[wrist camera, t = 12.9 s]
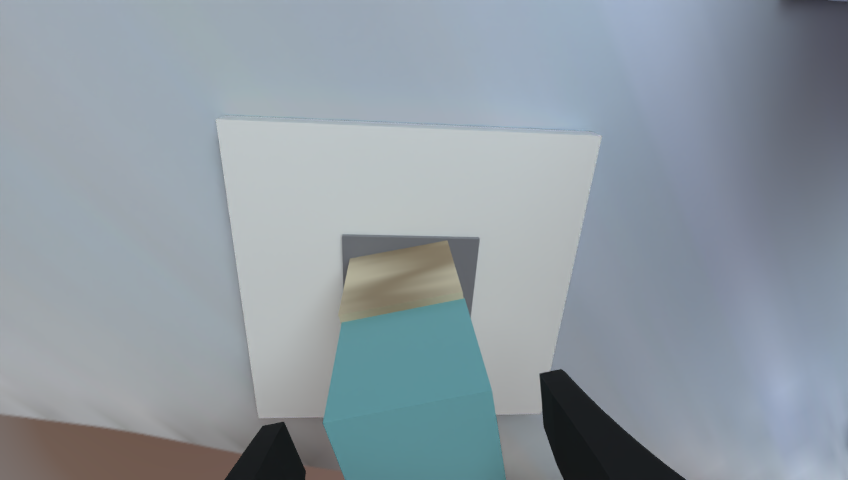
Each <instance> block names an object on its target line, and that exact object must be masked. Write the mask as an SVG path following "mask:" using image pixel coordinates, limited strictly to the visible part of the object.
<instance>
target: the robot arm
mask: <svg viewBox="0 0 848 480" xmlns="http://www.w3.org/2000/svg"><path fill="white" fill-rule="evenodd" d="M830 1H843V2H848V0H830ZM539 376H540V388H541V399H542V411H543V423H544V429H545V432H546V435H547V438H548V440H549V443H550V446H551V449H552V452H553V455H554V458H555V461H556V463H557V466H558V468H559V470H560V472H561V475H562V477H563V479H564V480H686V479H685V478H683V477H682V476H680V475H679V474H678V473H676V472H675V471H674V470H672V469H671V468H670V467H668V466H667V465H666V464H665V463H663V462H662V461H661V460H660V459H658V458H657V457H656V456H655V455H653V454H652V453H651V452H650V451H648V450H647V449H646V448H645V447H644V446H642V445H641V444H640V443H639V442H638V441H636V440H635V439H634V438H633V437H632V436H631V435H629V434H628V433H627V432H626V431H625V430H624V429H623V428H622V427H620V426H619V425H618V424H617V423H616V422H615V421H614V420H613V419H612V418H611V417H609V416H608V415H607V414H606V413H605V412H604V411H603V410H602V409H601V408H600V407H599V406H598V405H597V404H596V403H595V402H594V401H593V400H592V399H591V398H590V397H589V396H588V395H587V394H586V393H585V392H584V391H583V390H582V389H581V388H580V387H579V386H578V385H577V384H576V383H575V382H574V381H573V380H572V379H571V378H570V377H569V376H568V375H567V373H566V372H564V371H563V370H561V369H560V370H555V371H550V372H544V373H539ZM305 474H306V471H305V469H304V466H303V464H302V462H301V459H300V457H299V455H298V453H297V450H296V448H295V446H294V443H293V441H292V439H291V437H290V434H289V432H288V430H287V427H286V425H285V423H284V422H281V423H275V424H270V425H265V426H262V428H261V429H260V430H259V432H258V433H257V435H256V436H255V437H254V439H253V440H252V441H251V443H250V444H249V446H248V447H247V449H246V450H245V451H244V453H243V454H242V456H241V457H240V459H239V460H238V462H237V463H236V464H235V466H234V467H233V468H232V470H231V471H230V473H229V474H228V476H227V477H226V478H225V480H305Z"/></svg>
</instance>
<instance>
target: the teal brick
mask: <svg viewBox="0 0 848 480" xmlns="http://www.w3.org/2000/svg"><path fill="white" fill-rule="evenodd" d="M323 425H324V427H325V430H326V433H327V435H328V438H329V440H330V443H331V445H332V448H333V450H334V453H335V455H336V458H337V460H338V463H339V466H340V468H341V471H342V473H343V475H344V478H345V480H506V477H505V470H504V464H503V457H502V451H501V445H500V438H499V432H498V425H497V419H496V413H495V406H494V400H493V393H492V388H491V385H490V382H489V378H488V375H487V372H486V368H485V365H484V362H483V358H482V355H481V351H480V348H479V345H478V341H477V338H476V335H475V331H474V328H473V324H472V321H471V318H470V314H469V311H468V308H467V304H466V301H465V298H464V299H459V300H454V301H448V302H443V303H438V304H433V305H428V306H423V307H418V308H413V309H408V310H403V311H398V312H393V313H388V314H383V315H377V316H372V317H367V318H362V319H357V320H352V321H347V322H342V323H341V329H340V334H339V339H338V345H337V350H336V355H335V361H334V366H333V371H332V377H331V382H330V387H329V393H328V398H327V403H326V409H325V414H324V419H323Z"/></svg>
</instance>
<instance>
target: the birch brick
mask: <svg viewBox="0 0 848 480" xmlns="http://www.w3.org/2000/svg"><path fill="white" fill-rule="evenodd" d="M459 299H464V297H463V291H462V288H461V285H460V281H459V278H458V274H457V271H456V268H455V264H454V261H453V258H452V254H451V251H450V247H449V244H448V241H447V240H446V241H441V242H436V243H430V244H425V245H420V246H414V247H409V248H404V249H398V250H393V251H388V252H382V253H377V254H372V255H366V256H361V257H356V258H350V260H349V265H348V270H347V275H346V279H345V284H344V289H343V294H342V299H341V304H340V309H339V313H338V316H339V319H340V322H341V323H342V322H347V321H352V320H357V319H362V318H367V317H372V316H377V315H383V314H388V313H393V312H398V311H403V310H408V309H413V308H418V307H423V306H428V305H433V304H438V303H443V302H448V301H454V300H459Z"/></svg>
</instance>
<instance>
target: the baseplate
mask: <svg viewBox="0 0 848 480" xmlns="http://www.w3.org/2000/svg"><path fill="white" fill-rule="evenodd" d="M216 124H217V131H218V138H219V145H220V152H221V159H222V166H223V173H224V181H225V188H226V195H227V202H228V209H229V216H230V223H231V230H232V237H233V244H234V251H235V258H236V265H237V272H238V279H239V286H240V293H241V300H242V307H243V315H244V322H245V329H246V336H247V343H248V350H249V357H250V364H251V371H252V378H253V385H254V392H255V399H256V406H257V413H258V418H317V417H324V414H325V409H326V403H327V398H328V393H329V387H330V382H331V377H332V371H333V366H334V361H335V355H336V350H337V345H338V339H339V334H340V329H341V322H340V319H339V316H338V313H339V309H340V304H341V299H342V294H343V289H344V284H345V279H346V275H347V270H348V265H349V260H350V258H356V257H361V256H366V255H372V254H377V253H382V252H388V251H393V250H398V249H404V248H409V247H414V246H420V245H425V244H430V243H436V242H441V241H446V240H447V241H448V244H449V247H450V251H451V254H452V258H453V261H454V264H455V268H456V271H457V274H458V278H459V281H460V285H461V288H462V291H463V297H464V298H465V301H466V304H467V308H468V311H469V314H470V318H471V321H472V324H473V328H474V331H475V335H476V338H477V341H478V345H479V348H480V351H481V355H482V358H483V362H484V365H485V368H486V372H487V375H488V378H489V382H490V385H491V388H492V393H493V400H494V406H495V413H496V415H516V414H541V411H542V399H541V388H540V376H539V373H544V372H550V370H551V366H552V361H553V356H554V352H555V347H556V343H557V338H558V334H559V329H560V325H561V320H562V316H563V311H564V306H565V302H566V297H567V293H568V288H569V284H570V279H571V275H572V270H573V266H574V261H575V257H576V252H577V247H578V243H579V238H580V234H581V229H582V225H583V220H584V216H585V211H586V207H587V202H588V197H589V193H590V188H591V184H592V179H593V175H594V170H595V166H596V161H597V157H598V152H599V148H600V143H601V138H602V136H601V135H598V134H596V133H593V132H591V131H569V130H547V129H524V128H501V127H479V126H456V125H433V124H411V123H388V122H365V121H342V120H320V119H297V118H274V117H252V116H229V115H226V116H223V117H220V118H218V119H216Z"/></svg>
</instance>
